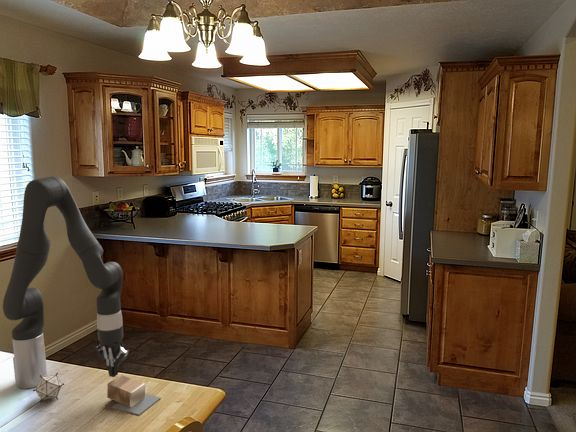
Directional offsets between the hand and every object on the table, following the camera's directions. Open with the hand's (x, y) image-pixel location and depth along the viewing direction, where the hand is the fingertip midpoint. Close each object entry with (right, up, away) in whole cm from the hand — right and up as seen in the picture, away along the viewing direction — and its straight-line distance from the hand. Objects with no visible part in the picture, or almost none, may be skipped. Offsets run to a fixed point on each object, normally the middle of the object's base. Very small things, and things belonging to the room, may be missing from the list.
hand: (113, 375), depth 145 cm
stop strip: (+3, -8, 0) cm, 8 cm away
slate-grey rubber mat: (+8, -8, -2) cm, 12 cm away
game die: (-21, -8, +1) cm, 22 cm away
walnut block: (0, -4, +1) cm, 4 cm away
